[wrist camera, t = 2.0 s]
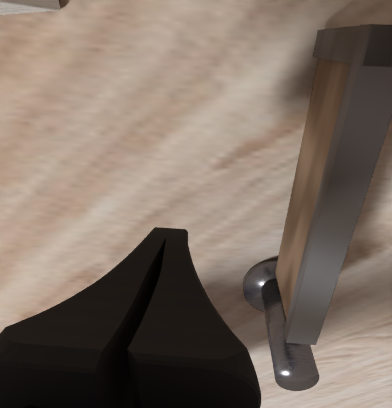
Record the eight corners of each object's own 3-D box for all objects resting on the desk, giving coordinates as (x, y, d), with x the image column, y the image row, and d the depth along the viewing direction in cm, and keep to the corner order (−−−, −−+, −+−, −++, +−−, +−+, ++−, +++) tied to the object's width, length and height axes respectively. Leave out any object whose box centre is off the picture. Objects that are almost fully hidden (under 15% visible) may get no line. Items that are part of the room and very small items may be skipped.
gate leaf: (292, 270, 22) (315, 344, 17) (270, 268, 22) (286, 342, 17) (349, 31, 15) (422, 25, 10) (315, 29, 15) (369, 24, 10)
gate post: (301, 309, 25) (331, 407, 18) (240, 305, 25) (247, 399, 18) (315, 261, 22) (354, 353, 16) (247, 256, 23) (258, 345, 16)
